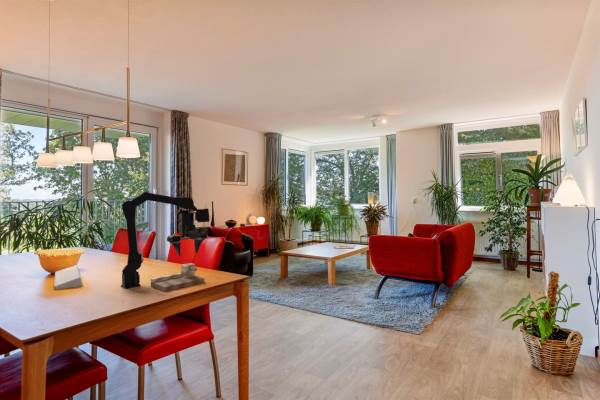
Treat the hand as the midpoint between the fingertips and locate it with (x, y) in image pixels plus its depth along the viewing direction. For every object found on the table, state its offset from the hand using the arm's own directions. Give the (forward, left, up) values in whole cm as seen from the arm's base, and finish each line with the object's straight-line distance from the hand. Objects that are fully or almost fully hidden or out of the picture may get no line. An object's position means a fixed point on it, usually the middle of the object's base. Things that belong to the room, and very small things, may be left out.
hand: (188, 254), depth 164 cm
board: (-7, -2, -13) cm, 15 cm away
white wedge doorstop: (-38, +47, -14) cm, 62 cm away
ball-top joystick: (0, -3, -11) cm, 11 cm away
